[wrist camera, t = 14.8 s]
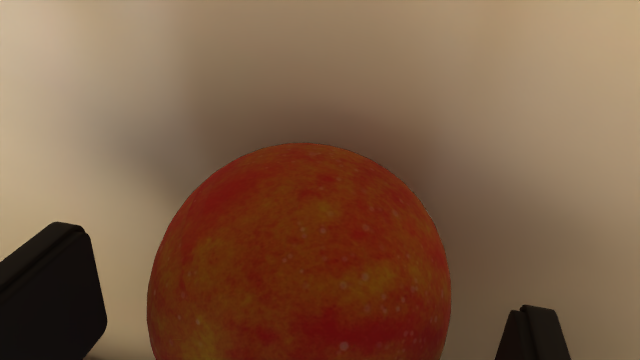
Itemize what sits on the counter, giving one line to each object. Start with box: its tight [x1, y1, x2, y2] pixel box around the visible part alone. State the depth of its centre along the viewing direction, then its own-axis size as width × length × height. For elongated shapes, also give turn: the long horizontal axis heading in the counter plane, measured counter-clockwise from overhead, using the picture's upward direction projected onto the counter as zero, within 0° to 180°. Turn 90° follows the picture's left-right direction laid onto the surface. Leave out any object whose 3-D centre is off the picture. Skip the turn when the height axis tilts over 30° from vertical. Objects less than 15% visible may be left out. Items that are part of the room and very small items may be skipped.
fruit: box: [147, 143, 451, 360], centre depth 11 cm, size 7×7×8 cm
